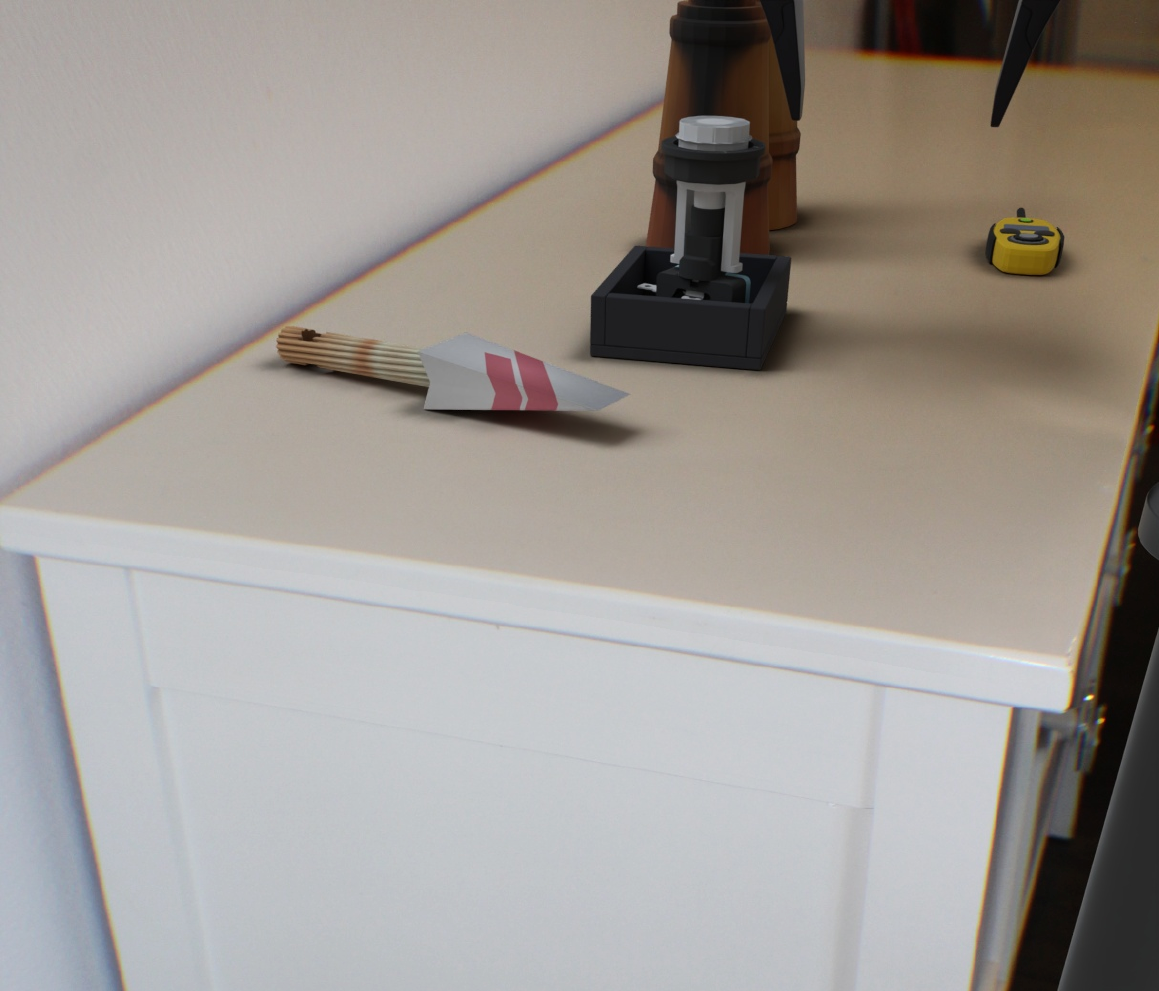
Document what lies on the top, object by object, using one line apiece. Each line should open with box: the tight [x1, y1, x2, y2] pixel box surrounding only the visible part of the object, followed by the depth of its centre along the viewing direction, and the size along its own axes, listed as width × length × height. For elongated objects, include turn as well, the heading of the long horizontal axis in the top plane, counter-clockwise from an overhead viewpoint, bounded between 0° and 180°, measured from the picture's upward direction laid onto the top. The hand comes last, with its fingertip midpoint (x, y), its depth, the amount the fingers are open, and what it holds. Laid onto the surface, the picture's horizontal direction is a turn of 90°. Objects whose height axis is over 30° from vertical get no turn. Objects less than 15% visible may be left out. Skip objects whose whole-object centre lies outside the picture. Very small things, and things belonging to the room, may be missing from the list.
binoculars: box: [645, 0, 802, 255], centre depth 92 cm, size 18×8×20 cm, turn 162°
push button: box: [637, 116, 766, 304], centre depth 76 cm, size 7×5×10 cm
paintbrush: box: [275, 325, 631, 412], centre depth 69 cm, size 4×3×20 cm
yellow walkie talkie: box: [984, 207, 1065, 276], centre depth 95 cm, size 5×2×15 cm
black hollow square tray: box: [589, 245, 792, 371], centre depth 78 cm, size 9×11×3 cm
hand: (894, 123), depth 67 cm, fingers open, 9 cm apart
